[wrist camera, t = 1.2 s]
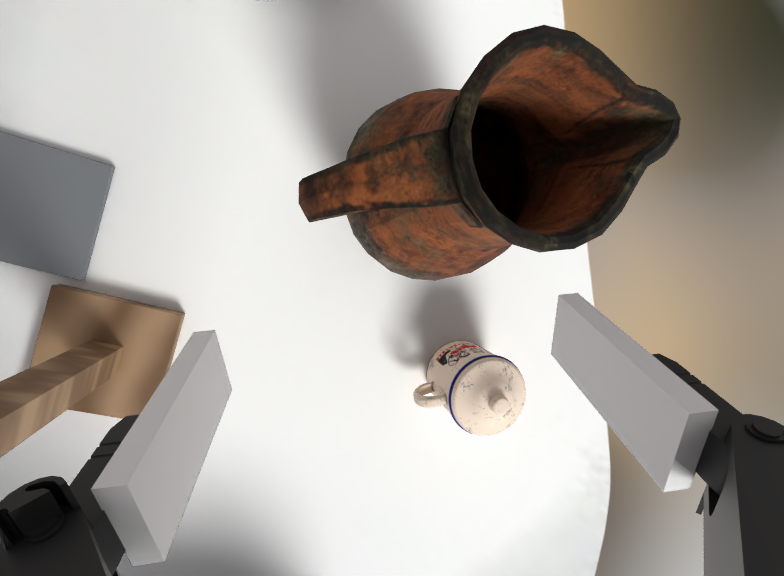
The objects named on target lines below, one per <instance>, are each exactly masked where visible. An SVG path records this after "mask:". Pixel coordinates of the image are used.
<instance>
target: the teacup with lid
mask: <svg viewBox="0 0 784 576" xmlns="http://www.w3.org/2000/svg"><path fill="white" fill-rule="evenodd" d="M427 381H428V383H425V384H422V385H420V386H418V387H417V388H416V389H415V391H414V394H413V396H414V401H415V403H416V404H417V405H418V406H421V407H425V408H434V407H439V406H444V407H445V408H446V409H447V410H448V411H449V412H450V414H451V415H452V417H453V419H454V420H455V422H456V423H457V424H458V425H459V426H460V427H461V428H462V429H463V430H465V431H467V432H469V433H471V434H475V435H479V436H489V435H494V434H497V433H500V432H502V431H504V430H505V429H507V428H508V427H510V426H511V425H512V424H513V423H514V422H515V421H516V419H517V418H518V416H519V415H520V413H521V411H522V409H523V406H524V402H525V395H526V390H525V383H524V380H523V377H522V375H521V373H520V371H519V370H518V368H517V367H516V366H515V365H514V364H513V363H512V362H511V361H509V360H508V359H506V358H504V357H501V356H497V355H494V354H492V353H490V352H488V351H487V350H485V349H483V348H481V347H479V346H477V345H475V344H474V343H471V342H468V341H454V342H451V343H448V344H446V345H444V346H443V347H441V348H440V349H439V350H438V351H437V352H436V353H435V354H434V356H433V357H432V359H431V361H430V363H429V366H428V371H427ZM431 392H432V394H433V395H434V396H430V397H427V396H423V395H425V394H428V393H431Z"/></svg>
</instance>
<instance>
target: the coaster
mask: <svg viewBox="0 0 784 576" xmlns="http://www.w3.org/2000/svg"><path fill="white" fill-rule="evenodd" d="M114 169H115V167H113V166H110V165H107V164H104V163H101V162H97V161H94V160H91V159H88V158H84V157H81V156H78V155H75V154H71V153H68V152H65V151H62V150H58V149H55V148H52V147H49V146H45V145H42V144H39V143H36V142H32V141H29V140H26V139H23V138H19V137H16V136H13V135H10V134H6V133H3V132H0V261H2V262H6V263H11V264H15V265H19V266H23V267H27V268H32V269H36V270H40V271H44V272H48V273H52V274H57V275H61V276H65V277H69V278H73V279H78V280H85V277H86V274H87V270H88V266H89V262H90V259H91V255H92V251H93V247H94V244H95V240H96V236H97V232H98V229H99V225H100V221H101V217H102V214H103V210H104V206H105V203H106V199H107V195H108V191H109V188H110V184H111V180H112V176H113V173H114Z"/></svg>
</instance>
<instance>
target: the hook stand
mask: <svg viewBox="0 0 784 576" xmlns="http://www.w3.org/2000/svg"><path fill="white" fill-rule="evenodd" d="M184 316H185V313H181V312H177V311H173V310H168V309H164V308H160V307H156V306H151V305H147V304H143V303H139V302H134V301H130V300H126V299H121V298H117V297H113V296H109V295H104V294H100V293H96V292H92V291H87V290H83V289H79V288H74V287H70V286H66V285H62V284H58V285H52V286H51V290H50V294H49V297H48V301H47V305H46V309H45V312H44V316H43V320H42V324H41V328H40V331H39V335H38V339H37V343H36V346H35V350H34V354H33V358H32V361H31V365H30V368H29V369H27V370H25V371H23V372H20V373H18V374H16V375H14V376H12V377H10V378H7V379H5V380H3V381H1V382H0V457H2V456H3V455H5V454H6V453H7V452H9V451H10V450H12V449H13V448H14V447H16V446H17V445H18V444H20V443H21V442H23V441H24V440H25V439H27V438H28V437H30V436H31V435H32V434H34V433H35V432H37V431H38V430H39V429H41V428H42V427H44V426H45V425H46V424H48V423H49V422H50V421H52V420H53V419H55V418H56V417H57V416H59V415H60V414H62V413H63V412H64V411H66V410H67V409H68V410H75V411H81V412H87V413H93V414H99V415H105V416H111V417H117V418H124V417H126V416H130V415H139V414H140V413H141V412H142V410H143V409H144V407H145V406H146V404H147V403H148V401H149V400H150V398H151V397H152V395H153V394H154V392H155V391H156V389H157V387H158V386H159V384H160V383H161V381H162V380H163V378H164V377H165V375H166V374H167V372H168V371H169V369H170V366H171V363H172V359H173V355H174V352H175V348H176V344H177V341H178V337H179V334H180V330H181V326H182V323H183V319H184Z"/></svg>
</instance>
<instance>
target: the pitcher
mask: <svg viewBox="0 0 784 576" xmlns="http://www.w3.org/2000/svg"><path fill="white" fill-rule="evenodd" d="M680 119H681V118H680V116H679V114H678V112H677V110H676V107H675V105H674V103H673V102H672V101H671V100H669V99H668V98H667V97H665V96H664V95H662V94H661V93H660V92H658V91H657V90H655V89H651V88H647V87H643V86H640V85H636V84H635V83H634V82H633V81H632V80H631V79H630V78H629V77H628V76H627V75H626V74H625V73H624V72H623V71H622V70H620V68H619V67H617V66H616V65H615V64H614V63H613V62H612V61H611V60H610V59H609V58H608V57H607V56H606V55H605V54H604V53H603V52H602V51H601V50H600V49H598V48H597V47H595V46H594V45H592V44H591V43H589V42H588V41H586V40H585V39H584V38H582V37H581V36H579V35H578V34H576V33H575V32H571V31H567V30H563V29H559V28H555V27H550V26H546V25H542V26H538V27H534V28H530V29H526V30H522V31H518V32H514V33H512V34H510V35H509V36H508V37H507V38H505V39H504V40H503V41H502V42H501V43H499V44H498V45H497V46H496V47H494V48H493V49H492V50H491V51H490V52H488V53H487V54H486V55H485V56H484V57H483V58H482V60H481V61H480V62H479V64H478V65H477V67H476V68H475V70H474V71H473V73H472V74H471V76H470V77H469V79H468V80H467V82H466V83H465V84H464V86H463V87H462V89H461V90H451V89H433V90H427V91H420V92H415V93H412V94H410V95H407V96H405V97H402V98H400V99H397V100H395V101H394V102H392V103H390V104H388V105H386V106H384V107H383V108H381V109H379V110H377V111H376V112H375V113H374V114H373V115H372V116H371V117H370V118H369V119H368V120H367V121H366V122H365V123H364V124H363V125H362V126H361V127H360V128H359V129H358V131H357V133H356V135H355V137H354V140H353V142H352V144H351V146H350V148H349V150H348V152H347V159H346V161H343V162H341V163H339V164H336V165H334V166H332V167H330V168H327V169H325V170H322V171H320V172H317V173H315V174H312V175H310V176H308V177H305V178H303V179H302V180H301V181H300V182H299V205H300V207H301V208H302V210H303V212H304V214H305V216H306V218H307V219H308V221H309V222H314V221H318V220H323V219H328V218H333V217H338V216H343V215H347V217H348V220H349V223H350V225H351V228H352V231H353V234H354V235H355V237H356V238H357V240H358V241H359V242H360V244H361V245H362V246H363V248H364V249H365V250H366V252H367V253H368V254H369V255H371V256H372V257H373V258H374V259H376V260H377V261H378V262H380V263H381V264H382V265H383V266H385V267H386V268H387V269H389V270H390V271H392V272H394V273H397V274H400V275H403V276H406V277H409V278H412V279H423V280H439V279H444V278H448V277H453V276H458V275H462V274H467V273H471V272H473V271H474V270H476V269H478V268H480V267H481V266H483V265H485V264H487V263H488V262H490V261H491V260H493V259H494V258H496V257H497V256H499V255H500V254H502V253H503V252H505V251H506V250H507V249H508V248H509V247H510V246H511V245H512V244H513V245H517V246H520V247H523V248H527V249H530V250H533V251H537V252H547V251H555V250H564V249H575V248H576V247H578V246H580V245H582V244H584V243H586V242H588V241H590V240H592V239H594V238H596V237H598V236H600V235H602V234H603V233H604V232H605V230H606V229H607V228H608V227H609V226H610V225H611V223H612V222H613V221H614V220H615V219H616V218H617V216H618V215H619V214H620V213H621V212H622V210H623V208H624V207H625V204H626V203H627V201H628V199H629V197H630V195H631V194H632V192H633V190H634V188H635V187H636V185H637V183H638V181H639V180H640V178H641V176H642V174H643V173H644V171H645V169H646V168H647V166H649V165H650V164H652V163H654V162H655V161H657V160H658V159H659V158H661V157H663V156H664V155H665V154H666V153H667V152H668V150H669V149H670V147H671V146H672V144H673V143H674V142H675V140H676V139H677V138H678V134H679V126H680Z"/></svg>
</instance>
